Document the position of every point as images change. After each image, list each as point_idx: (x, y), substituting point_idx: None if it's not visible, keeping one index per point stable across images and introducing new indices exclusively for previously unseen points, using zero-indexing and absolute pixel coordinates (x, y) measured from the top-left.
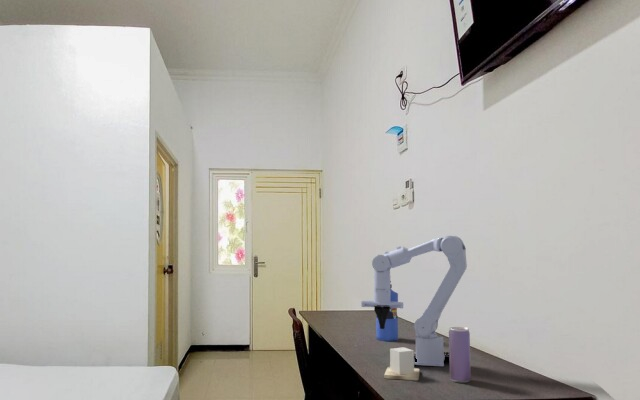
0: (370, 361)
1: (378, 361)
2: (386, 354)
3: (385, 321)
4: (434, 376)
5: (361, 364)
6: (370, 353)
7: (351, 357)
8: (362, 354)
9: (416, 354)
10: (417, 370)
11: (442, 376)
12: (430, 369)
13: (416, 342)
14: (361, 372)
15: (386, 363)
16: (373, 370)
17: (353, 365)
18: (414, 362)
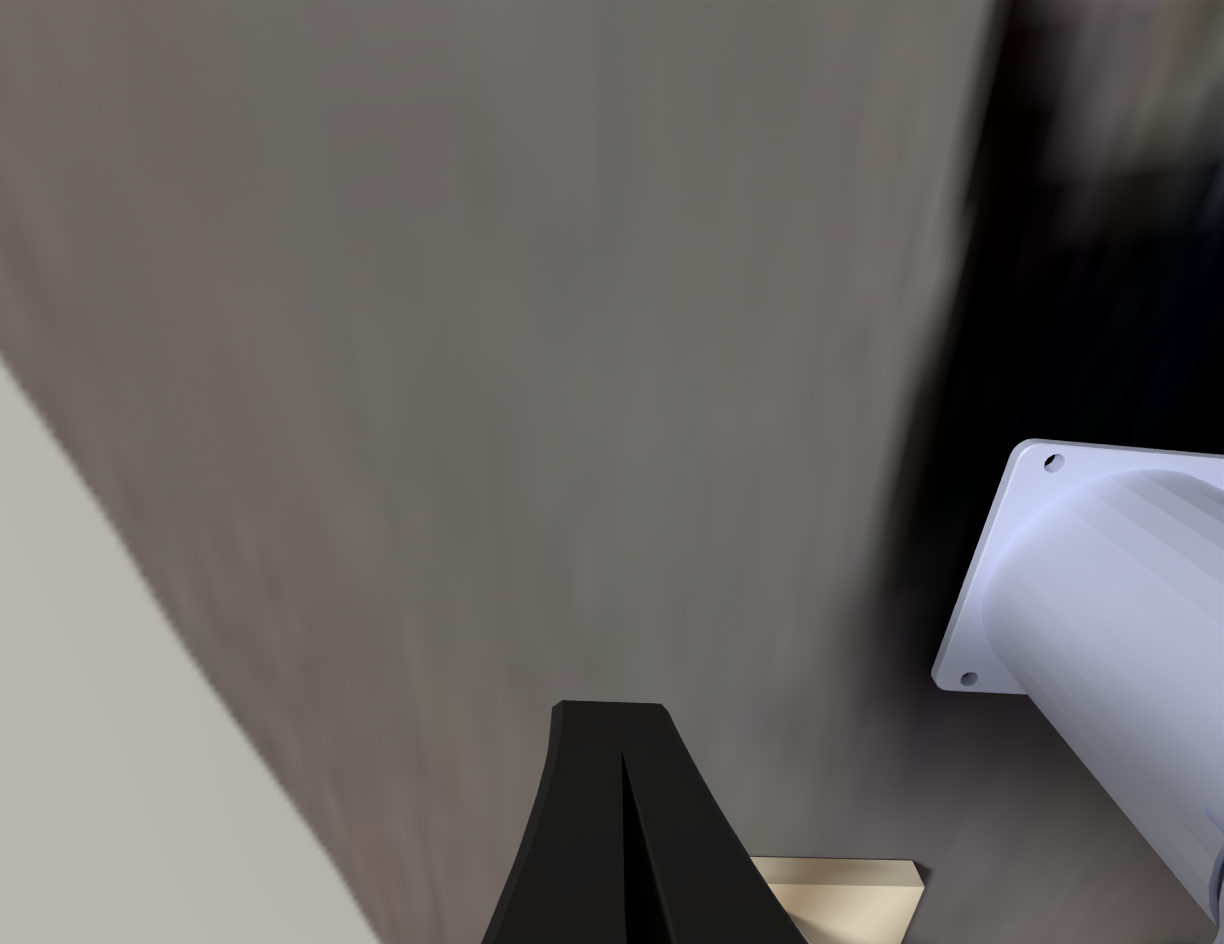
0: (428, 582)
1: (529, 569)
2: (642, 116)
3: (735, 864)
4: (994, 938)
5: (344, 717)
6: (356, 63)
7: (116, 408)
8: (231, 170)
9: (1030, 678)
10: (890, 934)
11: (1057, 929)
12: (1039, 777)
13: (1139, 812)
14: (397, 941)
15: (626, 640)
16: (498, 879)
17: (265, 764)
18: (949, 647)
